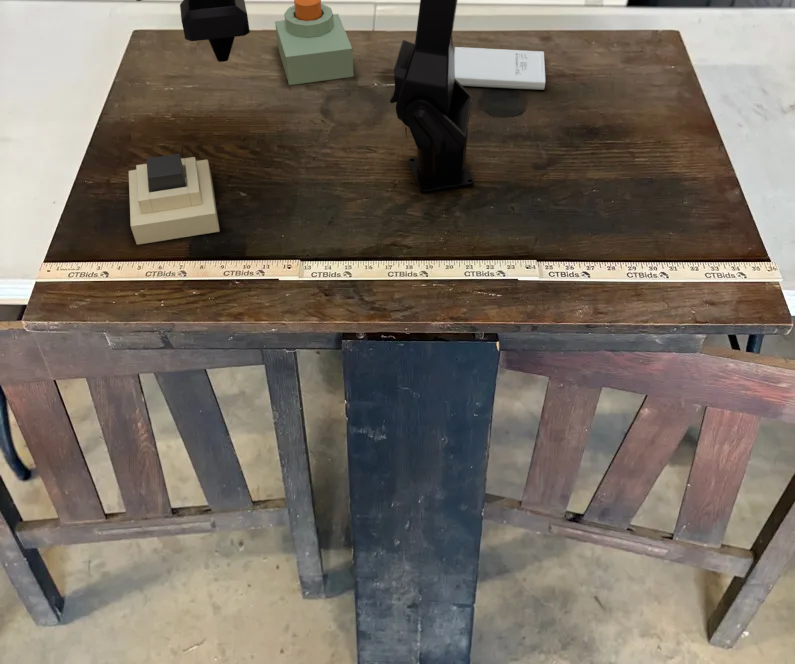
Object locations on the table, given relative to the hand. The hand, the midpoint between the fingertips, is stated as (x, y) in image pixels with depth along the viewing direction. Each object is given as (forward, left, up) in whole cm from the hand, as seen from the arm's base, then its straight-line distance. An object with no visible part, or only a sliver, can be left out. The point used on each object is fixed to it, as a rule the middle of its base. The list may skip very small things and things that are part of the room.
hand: (222, 60), depth 88 cm
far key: (+22, -13, -7) cm, 26 cm away
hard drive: (+10, -37, -13) cm, 40 cm away
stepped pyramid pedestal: (-9, +8, -13) cm, 17 cm away
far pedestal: (+19, -13, -13) cm, 27 cm away
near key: (-9, +8, -9) cm, 15 cm away
